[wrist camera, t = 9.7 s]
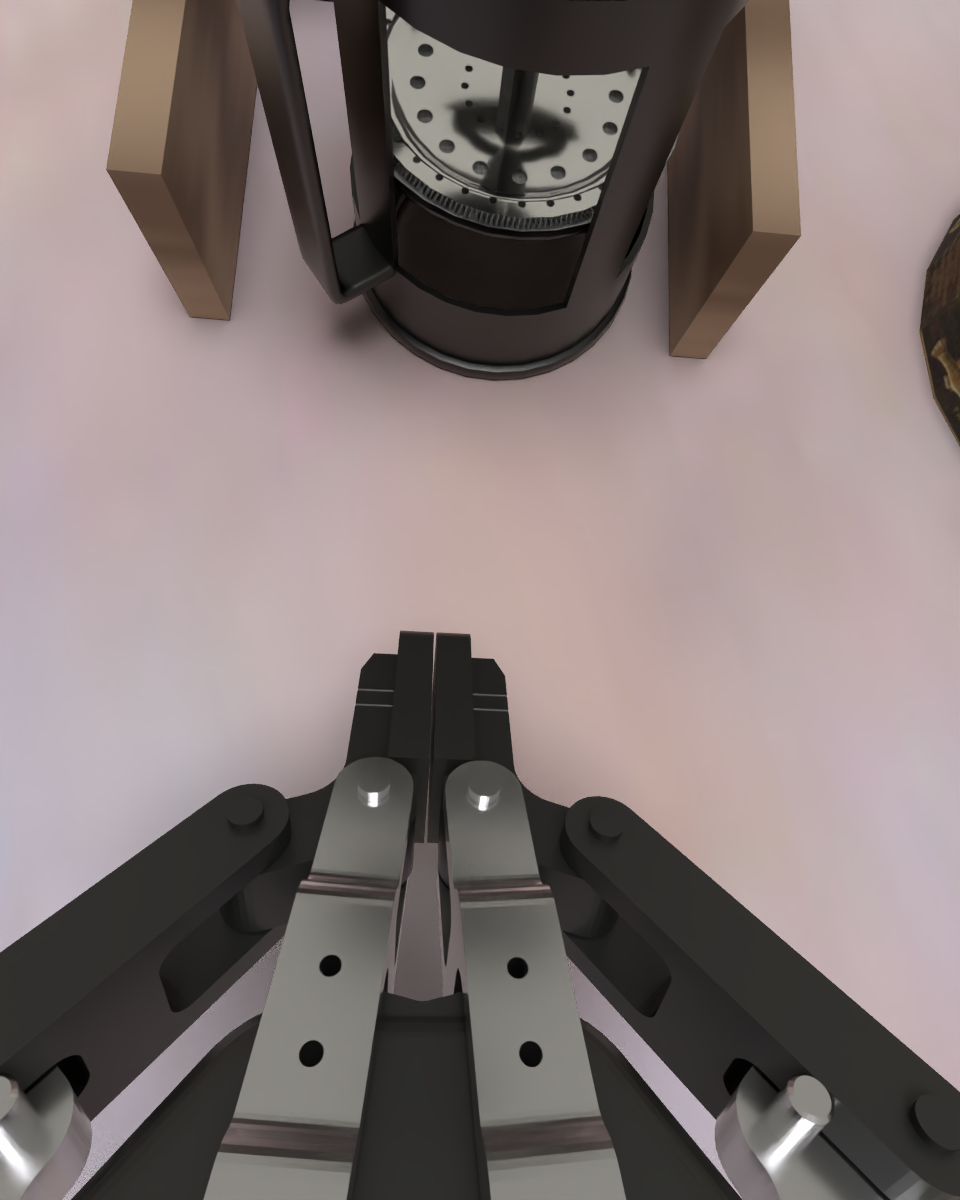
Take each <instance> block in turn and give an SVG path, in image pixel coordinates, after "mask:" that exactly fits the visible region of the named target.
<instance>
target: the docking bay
mask: <svg viewBox="0 0 960 1200" xmlns="http://www.w3.org/2000/svg"><path fill="white" fill-rule="evenodd" d="M330 1H334V0H330ZM256 88H257V80H256V76H255V72H254V68H253V64H252V60H251V56H250V52H249V48H248V45H247V41H246V37H245V33H244V29H243V25H242V21H241V17H240V13H239V9H238V5H237V2H236V0H133V3H132V9H131V16H130V22H129V28H128V35H127V41H126V47H125V54H124V60H123V66H122V73H121V79H120V85H119V92H118V98H117V104H116V111H115V117H114V123H113V130H112V136H111V142H110V149H109V155H108V161H107V168H106V170H107V172H108V173H109V175H110V177H111V179H112V180H113V182H114V184H115V186H116V187H117V189H118V191H119V193H120V194H121V196H122V198H123V200H124V202H125V203H126V205H127V207H128V209H129V210H130V212H131V214H132V216H133V217H134V219H135V221H136V223H137V224H138V226H139V228H140V230H141V231H142V233H143V235H144V237H145V239H146V240H147V242H148V244H149V246H150V247H151V249H152V251H153V253H154V254H155V256H156V258H157V260H158V261H159V263H160V265H161V267H162V269H163V270H164V272H165V274H166V276H167V277H168V279H169V281H170V283H171V284H172V286H173V288H174V290H175V291H176V293H177V295H178V297H179V298H180V300H181V302H182V304H183V306H184V307H185V309H186V311H187V313H188V314H189V316H190V317H200V318H212V319H224V320H230V313H231V305H232V296H233V287H234V279H235V270H236V261H237V253H238V244H239V235H240V227H241V218H242V209H243V201H244V192H245V183H246V175H247V166H248V157H249V149H250V140H251V131H252V123H253V114H254V105H255V97H256ZM668 227H669V316H670V356H680V357H693V358H705V359H706V358H707V357H708V355H709V354H710V353H711V352H712V350H713V349H714V348H715V346H716V345H717V344H718V342H719V341H720V340H721V339H722V337H723V336H724V335H725V333H726V332H727V331H728V329H729V328H730V327H731V326H732V324H733V323H734V322H735V320H736V319H737V318H738V317H739V315H740V314H741V313H742V311H743V310H744V309H745V307H746V306H747V305H748V304H749V302H750V301H751V300H752V298H753V297H754V296H755V295H756V293H757V292H758V291H759V289H760V288H761V287H762V285H763V284H764V283H765V282H766V280H767V279H768V278H769V276H770V275H771V274H772V272H773V271H774V270H775V269H776V267H777V266H778V265H779V263H780V262H781V261H782V260H783V258H784V257H785V256H786V254H787V253H788V252H789V250H790V249H791V248H792V247H793V245H794V244H795V243H796V241H797V240H798V239H799V237H800V236H801V227H800V208H799V188H798V168H797V148H796V128H795V108H794V88H793V68H792V49H791V29H790V9H789V0H750V1H749V2H748V3H747V4H746V5H745V6H744V7H743V8H742V9H741V10H740V11H739V12H738V14H737V15H736V16H735V17H734V18H733V19H732V20H731V21H730V22H729V23H728V24H727V25H726V26H725V27H724V29H723V32H722V34H721V36H720V39H719V41H718V43H717V46H716V48H715V50H714V53H713V55H712V57H711V59H710V62H709V64H708V66H707V69H706V71H705V73H704V76H703V78H702V80H701V83H700V85H699V87H698V90H697V92H696V94H695V96H694V99H693V101H692V103H691V106H690V108H689V110H688V113H687V115H686V117H685V120H684V122H683V124H682V127H681V129H680V131H679V135H678V138H677V142H676V145H675V148H674V150H673V152H672V153H671V155H670V157H669V159H668Z"/></svg>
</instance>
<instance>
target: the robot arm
mask: <svg viewBox="0 0 960 1200" xmlns="http://www.w3.org/2000/svg"><path fill="white" fill-rule="evenodd" d="M433 643H434V632H415V631H400V637H399V647H398V655H397V654H376V653H374V654H373V655H372V656H371V658H370V659H369V660H368V661H367V662H366V664H365V665H364V666H363V667H362V669H361V673H360V679H359V686H358V692H357V698H356V706H355V710H354V717H353V723H352V729H351V735H350V742H349V748H348V754H347V760H346V764H345V766H344V768H343V770H342V771H341V772H340V773H339V775H338V776H337V778H336V779H335V780H334V781H333V782H332V783H330V784H329V785H327V786H326V787H324V788H322V789H320V790H318V791H316V792H313V793H309V794H306V795H302V796H298V797H293V798H289V799H285V798H284V796H283V795H282V794H281V793H280V792H279V791H277V790H275V789H274V788H272V787H269V786H266V785H261V784H246V785H240V786H237V787H234V788H231V789H229V790H227V791H225V792H223V793H221V794H220V795H218V796H217V797H216V798H214V799H213V800H211V801H210V802H209V803H207V804H206V805H204V806H203V807H202V808H200V809H199V810H197V811H196V812H195V813H193V814H192V815H191V816H189V817H188V818H186V819H185V820H184V821H182V822H181V823H179V824H178V825H177V826H175V827H174V828H173V829H171V830H170V831H168V832H167V833H166V834H164V835H163V836H161V837H160V838H159V839H157V840H156V841H154V842H153V843H152V844H150V845H149V846H148V847H146V848H145V849H143V850H142V851H141V852H139V853H138V854H136V855H135V856H134V857H132V858H131V859H130V860H128V861H127V862H125V863H124V864H123V865H121V866H120V867H118V868H117V869H116V870H114V871H113V872H111V873H110V874H109V875H107V876H106V877H105V878H103V879H102V880H100V881H99V882H98V883H96V884H95V885H93V886H92V887H91V888H89V889H88V890H87V891H85V892H84V893H82V894H81V895H80V896H78V897H77V898H75V899H74V900H73V901H71V902H70V903H68V904H67V905H66V906H64V907H63V908H62V909H60V910H59V911H57V912H56V913H55V914H53V915H52V916H50V917H49V918H48V919H46V920H45V921H43V922H42V923H41V924H39V925H38V926H37V927H35V928H34V929H32V930H31V931H30V932H28V933H27V934H25V935H24V936H23V937H21V938H20V939H19V940H17V941H16V942H14V943H13V944H12V945H10V946H9V947H7V948H6V949H5V950H3V951H2V952H0V1200H62V1199H63V1198H64V1197H65V1195H66V1194H67V1193H68V1192H69V1190H70V1189H71V1188H72V1187H73V1185H74V1184H75V1182H76V1181H77V1179H78V1178H79V1176H80V1174H81V1172H82V1170H83V1168H84V1166H85V1164H86V1161H87V1159H88V1156H89V1152H90V1148H91V1142H92V1128H91V1123H90V1122H91V1121H92V1120H93V1119H94V1118H95V1117H96V1116H97V1115H98V1114H99V1113H100V1112H101V1111H102V1110H103V1109H104V1108H105V1107H106V1106H107V1105H108V1104H109V1103H110V1102H111V1101H112V1100H114V1099H115V1098H116V1097H117V1096H118V1095H119V1094H120V1093H121V1092H122V1091H123V1090H124V1089H125V1088H126V1087H127V1086H128V1085H129V1084H130V1083H131V1082H132V1081H133V1080H134V1079H135V1078H136V1077H137V1076H138V1075H140V1074H141V1073H142V1072H143V1071H144V1070H145V1069H146V1068H147V1067H148V1066H149V1065H150V1064H151V1063H152V1062H153V1061H154V1060H155V1059H156V1058H157V1057H158V1056H159V1055H160V1054H161V1053H162V1052H163V1051H164V1050H166V1049H167V1048H168V1047H169V1046H170V1045H171V1044H172V1043H173V1042H174V1041H175V1040H176V1039H177V1038H178V1037H179V1036H180V1035H181V1034H182V1033H183V1032H184V1031H185V1030H186V1029H187V1028H188V1027H189V1026H190V1025H192V1024H193V1023H194V1022H195V1021H196V1020H197V1019H198V1018H199V1017H200V1016H201V1015H202V1014H203V1013H204V1012H205V1011H206V1010H207V1009H208V1008H209V1007H210V1006H211V1005H212V1004H213V1003H214V1002H215V1001H217V1000H218V999H219V998H220V997H221V996H222V995H223V994H224V993H225V992H226V991H227V990H228V989H229V988H230V987H231V986H232V985H233V984H234V983H235V982H236V981H237V980H238V979H239V978H240V977H241V976H243V975H244V974H245V973H246V972H247V971H248V970H249V969H250V968H251V967H252V966H253V965H254V964H255V963H256V962H257V961H258V960H259V959H260V958H261V957H262V956H263V955H264V954H265V953H266V952H267V951H269V950H270V949H271V948H272V947H273V946H274V945H275V944H276V943H277V942H278V941H279V940H280V939H281V938H282V937H283V936H284V939H283V943H282V946H281V950H280V953H279V957H278V960H277V964H276V967H275V971H274V974H273V978H272V982H271V985H270V989H269V992H268V996H267V999H266V1003H265V1006H264V1010H263V1013H261V1014H259V1015H257V1016H255V1017H253V1018H252V1019H250V1020H248V1021H246V1022H245V1023H243V1024H242V1025H240V1026H239V1027H237V1028H236V1029H235V1030H233V1031H232V1032H230V1033H229V1034H228V1035H227V1036H226V1037H224V1038H223V1039H222V1040H221V1041H220V1042H219V1043H217V1044H216V1045H215V1046H214V1047H213V1048H212V1049H211V1050H210V1051H209V1052H208V1053H207V1054H206V1056H205V1057H204V1058H203V1059H202V1060H201V1061H200V1062H199V1063H198V1064H197V1065H196V1066H195V1067H194V1068H193V1069H192V1071H191V1072H190V1073H189V1074H188V1075H187V1076H186V1077H185V1078H184V1079H183V1080H182V1081H181V1082H180V1083H179V1084H178V1086H177V1087H176V1088H175V1089H174V1090H173V1091H172V1092H171V1093H170V1094H169V1095H168V1096H167V1097H166V1098H165V1099H164V1101H163V1102H162V1103H161V1104H160V1105H159V1106H158V1107H157V1108H156V1109H155V1110H154V1111H153V1112H152V1113H151V1115H150V1116H149V1117H148V1118H147V1119H146V1120H145V1121H144V1122H143V1123H142V1124H141V1125H140V1126H139V1127H138V1128H137V1130H136V1131H135V1132H134V1133H133V1134H132V1135H131V1136H130V1137H129V1138H128V1139H127V1140H126V1141H125V1142H124V1143H123V1145H122V1146H121V1147H120V1148H119V1149H118V1150H117V1151H116V1152H115V1153H114V1154H113V1155H112V1156H111V1157H110V1158H109V1160H108V1161H107V1162H106V1163H105V1164H104V1165H103V1166H102V1167H101V1168H100V1169H99V1170H98V1171H97V1172H96V1173H95V1175H94V1176H93V1177H92V1178H91V1179H90V1180H89V1181H88V1182H87V1183H86V1184H85V1185H84V1186H83V1187H82V1189H81V1190H80V1191H79V1192H78V1193H77V1194H76V1195H75V1196H74V1197H73V1198H72V1199H71V1200H742V1199H743V1200H960V1092H959V1091H958V1090H957V1089H956V1088H955V1087H953V1086H952V1085H951V1084H950V1083H949V1082H948V1081H946V1080H945V1079H944V1078H943V1077H942V1076H941V1075H939V1074H938V1073H937V1072H936V1071H935V1070H934V1069H932V1068H931V1067H930V1066H929V1065H928V1064H927V1063H926V1062H924V1061H923V1060H922V1059H921V1058H920V1057H919V1056H917V1055H916V1054H915V1053H914V1052H913V1051H912V1050H910V1049H909V1048H908V1047H907V1046H906V1045H905V1044H903V1043H902V1042H901V1041H900V1040H899V1039H898V1038H896V1037H895V1036H894V1035H893V1034H892V1033H891V1032H889V1031H888V1030H887V1029H886V1028H885V1027H884V1026H882V1025H881V1024H880V1023H879V1022H878V1021H877V1020H875V1019H874V1018H873V1017H872V1016H871V1015H870V1014H868V1013H867V1012H866V1011H865V1010H864V1009H863V1008H861V1007H860V1006H859V1005H858V1004H857V1003H856V1002H854V1001H853V1000H852V999H851V998H850V997H849V996H848V995H846V994H845V993H844V992H843V991H842V990H841V989H839V988H838V987H837V986H836V985H835V984H834V983H832V982H831V981H830V980H829V979H828V978H827V977H825V976H824V975H823V974H822V973H821V972H820V971H818V970H817V969H816V968H815V967H814V966H813V965H811V964H810V963H809V962H808V961H807V960H806V959H804V958H803V957H802V956H801V955H800V954H799V953H797V952H796V951H795V950H794V949H793V948H792V947H790V946H789V945H788V944H787V943H786V942H785V941H783V940H782V939H781V938H780V937H779V936H778V935H776V934H775V933H774V932H773V931H772V930H771V929H770V928H768V927H767V926H766V925H765V924H764V923H763V922H761V921H760V920H759V919H758V918H757V917H756V916H754V915H753V914H752V913H751V912H750V911H749V910H747V909H746V908H745V907H744V906H743V905H742V904H740V903H739V902H738V901H737V900H736V899H735V898H733V897H732V896H731V895H730V894H729V893H728V892H726V891H725V890H724V889H723V888H722V887H721V886H719V885H718V884H717V883H716V882H715V881H714V880H712V879H711V878H710V877H709V876H708V875H707V874H705V873H704V872H703V871H702V870H701V869H700V868H698V867H697V866H696V865H695V864H694V863H693V862H692V861H690V860H689V859H688V858H687V857H686V856H685V855H683V854H682V853H681V852H680V851H679V850H678V849H676V848H675V847H674V846H673V845H672V844H671V843H669V842H668V841H667V840H666V839H665V838H664V837H662V836H661V835H660V834H659V833H658V832H657V831H655V830H654V829H653V828H652V827H651V826H650V825H648V824H647V823H646V822H645V821H644V820H643V819H641V818H640V817H639V816H638V815H637V814H636V813H634V812H633V811H632V810H631V809H630V808H628V807H627V806H626V805H624V804H622V803H620V802H619V801H616V800H614V799H610V798H607V797H600V796H596V797H587V798H584V799H581V800H579V801H577V802H576V803H575V804H573V805H572V806H571V808H568V807H565V806H562V805H558V804H555V803H552V802H549V801H546V800H544V799H541V798H540V797H538V796H536V795H534V794H533V793H531V792H530V791H529V790H528V789H527V788H525V787H524V785H523V784H522V783H521V782H520V780H519V779H518V777H517V775H516V772H515V769H514V763H513V753H512V743H511V733H510V723H509V713H508V703H507V697H506V695H507V692H506V682H505V675H504V674H503V672H502V671H501V669H500V668H499V666H498V665H497V663H496V662H495V660H494V659H483V658H471V637H470V634H457V633H437V634H436V647H435V661H434V675H433ZM432 675H433V690H432ZM431 707H432V709H431ZM429 764H430V771H429ZM428 778H429V803H428V835H427V843H438V868H437V880H436V885H437V901H438V916H439V931H440V946H441V962H442V981H443V995H442V997H441V998H437V999H433V1000H430V1001H415V1000H412V999H409V998H405V997H402V996H398V995H395V994H393V992H394V983H395V974H396V967H397V960H398V952H399V945H400V938H401V931H402V923H403V916H404V909H405V902H406V894H407V887H408V877H409V875H410V873H411V870H412V866H413V853H414V842H415V843H424V832H425V819H426V805H427V791H428ZM566 955H567V956H568V957H569V959H570V960H571V961H572V962H573V963H574V964H575V965H576V966H577V967H578V968H579V970H580V971H581V972H582V973H583V974H584V975H585V976H586V977H587V978H588V979H589V981H590V982H591V983H592V984H593V985H594V986H595V987H596V988H597V989H598V990H599V992H600V993H601V994H602V995H603V996H604V997H605V998H606V999H607V1000H608V1001H609V1003H610V1004H611V1005H612V1006H613V1007H614V1008H615V1009H616V1010H617V1011H618V1012H619V1014H620V1015H621V1016H622V1017H623V1018H624V1019H625V1020H626V1021H627V1022H628V1023H629V1025H630V1026H631V1027H632V1028H633V1029H634V1030H635V1031H636V1032H637V1033H638V1034H639V1036H640V1037H641V1038H642V1039H643V1040H644V1041H645V1042H646V1043H647V1044H648V1045H649V1047H650V1048H651V1049H652V1050H653V1051H654V1052H655V1053H656V1054H657V1055H658V1056H659V1058H660V1059H661V1060H662V1061H663V1062H664V1063H665V1064H666V1065H667V1066H668V1067H669V1069H670V1070H671V1071H672V1072H673V1073H674V1074H675V1075H676V1076H677V1077H678V1078H679V1080H680V1081H681V1082H682V1083H683V1084H684V1085H685V1086H686V1087H687V1088H688V1089H689V1091H690V1092H691V1093H692V1094H693V1095H694V1096H695V1097H696V1098H697V1099H698V1100H699V1102H700V1103H701V1104H702V1105H703V1106H704V1107H705V1108H706V1109H707V1110H708V1111H709V1113H710V1114H711V1115H712V1116H713V1117H714V1118H715V1119H716V1125H715V1143H716V1149H717V1153H718V1157H719V1160H720V1162H721V1165H722V1167H723V1169H724V1171H725V1173H726V1175H727V1176H728V1178H729V1179H730V1181H731V1182H732V1184H733V1185H734V1187H735V1188H736V1189H737V1191H738V1192H739V1194H740V1195H741V1197H742V1199H741V1198H740V1196H739V1195H738V1194H737V1193H736V1192H735V1190H734V1189H733V1188H732V1187H731V1185H730V1184H729V1183H728V1182H727V1181H726V1179H725V1178H724V1177H723V1176H722V1174H721V1173H720V1172H719V1171H718V1170H717V1168H716V1167H715V1166H714V1165H713V1164H712V1162H711V1161H710V1160H709V1159H708V1157H707V1156H706V1155H705V1154H704V1153H703V1151H702V1150H701V1149H700V1148H699V1147H698V1145H697V1144H696V1143H695V1142H694V1140H693V1139H692V1138H691V1137H690V1136H689V1134H688V1133H687V1132H686V1131H685V1130H684V1128H683V1127H682V1126H681V1125H680V1123H679V1122H678V1121H677V1120H676V1119H675V1117H674V1116H673V1115H672V1114H671V1113H670V1111H669V1110H668V1109H667V1108H666V1106H665V1105H664V1104H663V1103H662V1102H661V1100H660V1099H659V1098H658V1097H657V1096H656V1094H655V1093H654V1092H653V1091H652V1089H651V1088H650V1087H649V1086H648V1085H647V1083H646V1082H645V1081H644V1080H643V1078H642V1077H641V1076H640V1075H639V1074H638V1072H637V1071H636V1070H635V1069H634V1068H633V1066H632V1065H631V1064H630V1063H629V1061H628V1060H627V1059H626V1058H625V1057H624V1055H623V1054H622V1053H621V1052H620V1051H619V1050H618V1049H617V1047H616V1046H615V1045H614V1044H613V1043H612V1042H611V1041H610V1040H609V1039H608V1038H606V1037H605V1036H604V1035H603V1034H602V1033H601V1032H600V1031H598V1030H597V1029H596V1028H594V1027H593V1026H592V1025H590V1024H589V1023H588V1022H586V1021H584V1020H583V1019H581V1018H580V1017H579V1013H578V1008H577V1003H576V999H575V994H574V989H573V985H572V980H571V975H570V971H569V966H568V961H567V956H566Z"/></svg>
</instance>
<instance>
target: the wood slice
mask: <svg viewBox="0 0 960 1200" xmlns="http://www.w3.org/2000/svg"><path fill="white" fill-rule="evenodd" d="M920 336H921V341H922V346H923V350H924V355H925V360H926V365H927V369H928V374H929V379H930V384H931V388H932V393H933V398H934V400H935V402H936V403H937V405H938V407H939V409H940V411H941V413H942V414H943V416H944V418H945V420H946V422H947V424H948V426H949V427H950V429H951V431H952V433H953V435H954V437H955V438H956V440H957V442H958V444H959V446H960V214H959V215H958V216H957V217H956V218H955V219H954V220H953V222H952V224H951V226H950V228H949V230H948V232H947V233H946V235H945V237H944V239H943V241H942V243H941V245H940V247H939V249H938V251H937V252H936V254H935V256H934V258H933V260H932V262H931V264H930V266H929V268H928V270H927V274H926V282H925V291H924V299H923V307H922V316H921V324H920Z"/></svg>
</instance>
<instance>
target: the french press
mask: <svg viewBox="0 0 960 1200" xmlns="http://www.w3.org/2000/svg"><path fill="white" fill-rule="evenodd" d="M749 1H750V0H334V8H335V16H336V25H337V33H338V41H339V49H340V57H341V66H342V74H343V82H344V90H345V98H346V107H347V115H348V123H349V131H350V139H351V148H352V158H351V165H350V173H351V185H352V197H353V204H354V212H355V221H354V227H353V228H351V229H349V230H348V231H346V232H344V233H342V234H340V235H338V236H336V237H334V238H331V233H330V227H329V222H328V217H327V211H326V206H325V200H324V195H323V190H322V184H321V179H320V173H319V168H318V163H317V157H316V152H315V147H314V141H313V136H312V130H311V125H310V120H309V114H308V109H307V103H306V98H305V93H304V87H303V82H302V76H301V71H300V66H299V60H298V55H297V49H296V44H295V39H294V33H293V28H292V23H291V17H290V12H289V0H236V2H237V5H238V9H239V13H240V17H241V21H242V25H243V29H244V33H245V37H246V41H247V45H248V48H249V52H250V56H251V60H252V64H253V68H254V72H255V76H256V80H257V84H258V88H259V91H260V95H261V99H262V103H263V107H264V111H265V115H266V119H267V123H268V127H269V130H270V134H271V138H272V142H273V146H274V150H275V154H276V158H277V162H278V166H279V170H280V173H281V177H282V181H283V185H284V189H285V193H286V197H287V201H288V205H289V209H290V212H291V216H292V220H293V224H294V228H295V232H296V236H297V240H298V244H299V248H300V251H301V254H302V257H303V259H304V261H305V262H306V264H307V265H308V267H309V268H310V269H311V271H312V272H313V274H314V275H315V277H316V278H317V280H318V281H319V283H320V284H321V285H322V287H323V288H324V290H325V291H326V293H327V294H328V296H329V297H330V299H331V300H332V301H333V302H334V303H335V304H343V303H345V302H347V301H349V300H351V299H353V298H355V297H357V296H359V295H361V294H362V293H363V294H364V296H365V298H366V300H367V301H368V303H369V305H370V307H371V309H372V310H373V312H374V314H375V316H376V317H377V318H378V319H379V320H380V322H381V323H382V324H383V325H384V326H385V327H386V329H387V330H388V331H389V332H390V333H391V335H392V336H393V337H394V338H395V339H397V340H398V341H399V342H400V343H402V344H403V345H404V346H405V347H407V348H408V349H409V350H410V351H412V352H413V353H414V354H415V355H417V356H419V357H421V358H423V359H425V360H427V361H429V362H430V363H432V364H434V365H436V366H438V367H440V368H443V369H446V370H449V371H452V372H455V373H458V374H462V375H465V376H469V377H477V378H485V379H493V380H498V379H517V378H525V377H529V376H533V375H537V374H541V373H545V372H549V371H551V370H553V369H555V368H557V367H560V366H562V365H564V364H566V363H568V362H570V361H572V360H574V359H575V358H577V357H578V356H579V355H581V354H582V353H583V352H585V351H586V350H587V349H589V348H590V347H591V346H593V345H594V344H595V343H596V342H597V340H598V339H599V338H600V337H601V336H602V335H603V334H604V332H605V331H606V330H607V329H608V328H609V327H610V326H611V324H612V322H613V320H614V318H615V316H616V315H617V313H618V311H619V309H620V307H621V305H622V304H623V301H624V299H625V296H626V292H627V289H628V285H629V282H630V279H631V272H632V266H633V263H634V261H635V259H636V257H637V255H638V253H639V250H640V248H641V246H642V244H643V242H644V239H645V237H646V234H647V231H648V227H649V224H650V220H651V217H652V213H653V201H654V189H655V187H656V184H657V182H658V180H659V177H660V175H661V173H662V170H663V168H664V166H665V164H666V162H667V160H668V159H669V157H670V155H671V153H672V152H673V150H674V148H675V145H676V142H677V138H678V135H679V131H680V129H681V127H682V124H683V122H684V120H685V117H686V115H687V113H688V110H689V108H690V106H691V103H692V101H693V99H694V96H695V94H696V92H697V90H698V87H699V85H700V83H701V80H702V78H703V76H704V73H705V71H706V69H707V66H708V64H709V62H710V59H711V57H712V55H713V53H714V50H715V48H716V46H717V43H718V41H719V39H720V36H721V34H722V32H723V29H724V27H725V26H726V25H727V24H728V23H729V22H730V21H731V20H732V19H733V18H734V17H735V16H736V15H737V14H738V12H739V11H740V10H741V9H742V8H743V7H744V6H745V5H746V4H747V3H748V2H749ZM406 196H407V197H408V198H409V199H411V200H412V201H414V202H415V203H416V204H418V205H419V206H421V207H422V208H424V209H425V210H427V211H428V212H430V213H432V214H434V215H436V216H438V217H440V218H442V219H444V220H446V221H448V222H450V223H452V224H454V225H456V226H459V227H462V228H465V229H468V230H471V231H474V232H477V233H481V234H484V235H487V236H493V237H501V238H508V239H515V240H551V239H557V238H564V237H570V236H574V235H578V234H581V233H585V232H587V235H586V238H585V241H584V244H583V247H582V250H581V253H580V256H579V259H578V262H577V265H576V268H575V271H574V274H573V277H572V280H571V283H570V285H569V288H568V291H567V294H566V297H565V300H564V303H559V304H555V305H551V306H547V307H542V308H538V309H525V310H501V309H493V308H486V307H478V306H474V305H471V304H468V303H465V302H462V301H459V300H456V299H453V298H449V297H447V296H445V295H443V294H441V293H440V292H438V291H436V290H434V289H432V288H430V287H428V286H426V285H424V284H423V283H421V282H420V281H418V280H417V279H416V278H415V277H413V276H412V275H411V274H410V273H408V272H407V271H406V270H405V269H403V268H402V267H401V266H400V265H399V260H398V240H397V220H396V215H397V213H398V210H399V207H400V205H401V204H402V202H403V201H404V199H405V198H406Z"/></svg>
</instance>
